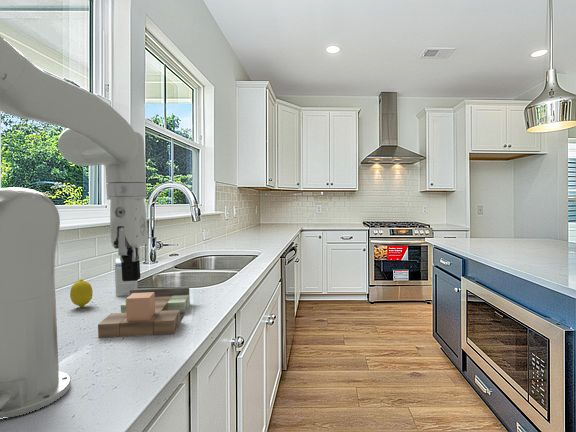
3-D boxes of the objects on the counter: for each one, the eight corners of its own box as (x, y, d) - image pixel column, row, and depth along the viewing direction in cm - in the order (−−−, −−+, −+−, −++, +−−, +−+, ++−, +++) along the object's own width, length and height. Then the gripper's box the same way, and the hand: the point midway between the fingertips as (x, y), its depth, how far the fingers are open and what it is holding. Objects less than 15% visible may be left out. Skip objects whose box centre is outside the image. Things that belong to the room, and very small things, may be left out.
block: (149, 319, 82) (149, 297, 82) (126, 320, 82) (125, 298, 81) (155, 312, 87) (154, 292, 87) (133, 314, 86) (132, 293, 86)
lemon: (83, 310, 100) (82, 281, 100) (65, 309, 101) (64, 281, 101) (97, 305, 106) (96, 277, 105) (80, 304, 107) (79, 277, 107)
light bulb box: (115, 289, 125) (114, 258, 124) (137, 287, 128) (136, 256, 127) (115, 296, 115) (114, 262, 115) (138, 294, 118) (137, 261, 117)
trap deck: (174, 333, 81) (173, 311, 81) (98, 338, 79) (97, 315, 79) (189, 304, 105) (189, 286, 105) (131, 306, 103) (131, 289, 103)
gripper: (135, 191, 68) (140, 288, 70) (154, 192, 83) (158, 271, 84) (92, 192, 68) (98, 290, 69) (119, 192, 82) (124, 273, 84)
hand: (131, 279), depth 77 cm, fingers closed
